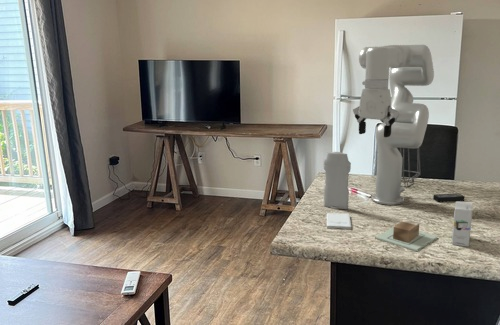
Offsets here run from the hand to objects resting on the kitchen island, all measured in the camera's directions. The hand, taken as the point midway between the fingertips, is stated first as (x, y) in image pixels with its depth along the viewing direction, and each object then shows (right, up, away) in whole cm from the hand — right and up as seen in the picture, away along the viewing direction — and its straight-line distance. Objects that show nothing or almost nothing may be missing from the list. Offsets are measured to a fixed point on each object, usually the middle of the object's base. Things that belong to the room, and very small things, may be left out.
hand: (374, 135), depth 154 cm
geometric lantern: (+25, -19, +49) cm, 58 cm away
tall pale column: (-10, -27, +19) cm, 34 cm away
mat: (+7, -34, -11) cm, 36 cm away
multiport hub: (+37, -25, +25) cm, 51 cm away
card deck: (+7, -33, -11) cm, 36 cm away
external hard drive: (-12, -31, +4) cm, 34 cm away
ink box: (+23, -34, -14) cm, 44 cm away
